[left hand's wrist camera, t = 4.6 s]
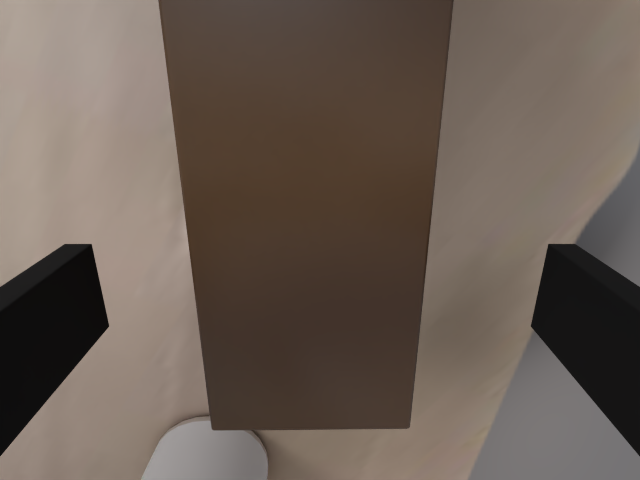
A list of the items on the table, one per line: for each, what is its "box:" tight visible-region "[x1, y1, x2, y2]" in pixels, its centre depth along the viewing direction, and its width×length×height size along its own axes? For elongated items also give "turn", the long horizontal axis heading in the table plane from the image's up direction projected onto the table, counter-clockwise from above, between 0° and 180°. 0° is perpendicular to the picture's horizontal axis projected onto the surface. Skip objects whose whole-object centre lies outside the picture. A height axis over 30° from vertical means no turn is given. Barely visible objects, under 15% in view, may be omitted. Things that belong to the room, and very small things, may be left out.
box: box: [158, 0, 454, 431], centre depth 15 cm, size 23×6×13 cm, turn 0°
